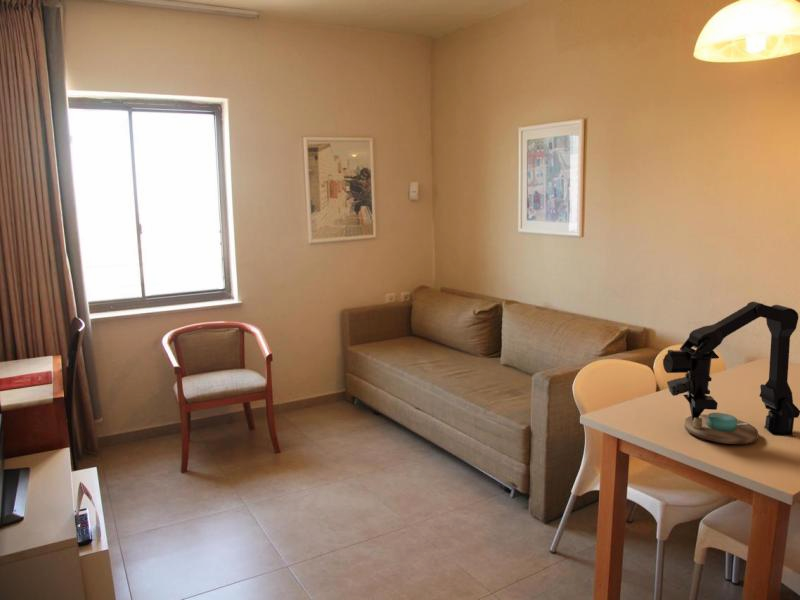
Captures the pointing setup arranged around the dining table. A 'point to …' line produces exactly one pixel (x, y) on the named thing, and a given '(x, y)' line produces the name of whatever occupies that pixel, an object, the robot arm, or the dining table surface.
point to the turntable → (739, 436)
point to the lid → (722, 422)
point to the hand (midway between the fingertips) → (694, 420)
